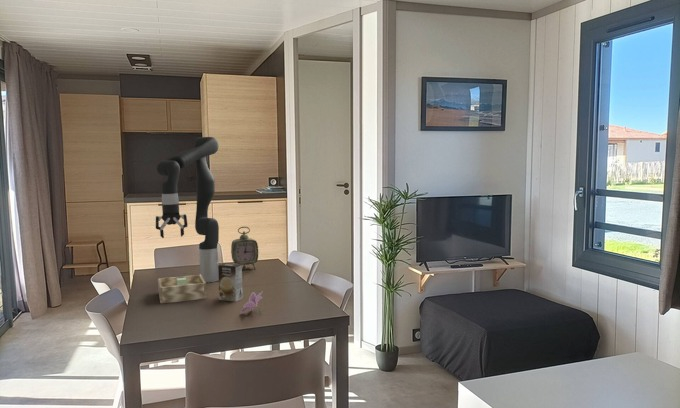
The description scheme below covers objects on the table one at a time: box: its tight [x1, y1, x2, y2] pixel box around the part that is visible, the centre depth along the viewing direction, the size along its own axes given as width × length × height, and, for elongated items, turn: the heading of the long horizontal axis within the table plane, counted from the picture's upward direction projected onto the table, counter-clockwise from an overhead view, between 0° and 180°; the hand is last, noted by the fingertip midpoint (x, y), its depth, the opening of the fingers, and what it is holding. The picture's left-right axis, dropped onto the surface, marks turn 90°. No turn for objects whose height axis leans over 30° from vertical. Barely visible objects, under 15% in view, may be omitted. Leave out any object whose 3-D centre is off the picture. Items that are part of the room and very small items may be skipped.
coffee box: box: [218, 262, 243, 302], centre depth 230 cm, size 9×6×16 cm
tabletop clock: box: [230, 226, 259, 270], centre depth 295 cm, size 14×9×25 cm, turn 111°
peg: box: [177, 278, 186, 286], centre depth 238 cm, size 4×4×8 cm
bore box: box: [157, 274, 208, 304], centre depth 238 cm, size 20×20×7 cm
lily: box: [239, 290, 264, 316], centre depth 208 cm, size 12×12×10 cm
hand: (172, 237), depth 241 cm, fingers open, 8 cm apart
